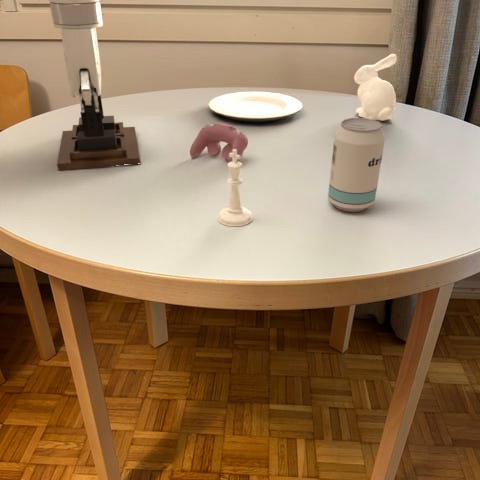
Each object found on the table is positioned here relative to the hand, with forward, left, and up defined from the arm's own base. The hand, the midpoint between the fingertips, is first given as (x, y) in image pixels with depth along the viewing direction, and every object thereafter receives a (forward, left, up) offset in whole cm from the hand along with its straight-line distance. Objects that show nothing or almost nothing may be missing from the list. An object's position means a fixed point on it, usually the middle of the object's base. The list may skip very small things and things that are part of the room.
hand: (94, 127), depth 92 cm
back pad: (0, 0, -4) cm, 4 cm away
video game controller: (+21, -5, -6) cm, 22 cm away
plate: (+34, +22, -6) cm, 41 cm away
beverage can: (+37, -28, -6) cm, 47 cm away
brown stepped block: (0, +4, -5) cm, 7 cm away
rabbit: (+59, +15, -6) cm, 61 cm away
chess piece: (+19, -29, -6) cm, 35 cm away
